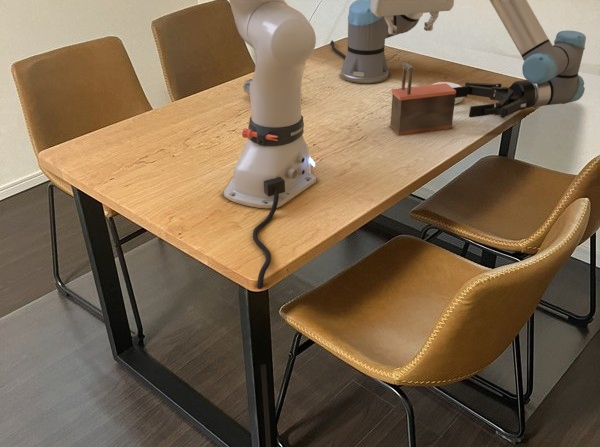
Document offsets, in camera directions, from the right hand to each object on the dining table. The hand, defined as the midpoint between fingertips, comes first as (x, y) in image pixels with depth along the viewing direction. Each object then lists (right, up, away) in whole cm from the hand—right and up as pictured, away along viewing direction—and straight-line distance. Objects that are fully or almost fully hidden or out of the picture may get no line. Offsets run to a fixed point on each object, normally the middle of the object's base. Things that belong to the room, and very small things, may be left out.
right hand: (457, 102), depth 164 cm
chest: (-9, -6, +2) cm, 11 cm away
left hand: (-15, +15, -13) cm, 25 cm away
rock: (-51, +5, +20) cm, 55 cm away
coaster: (+1, +5, +19) cm, 19 cm away
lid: (-10, +2, -3) cm, 11 cm away
